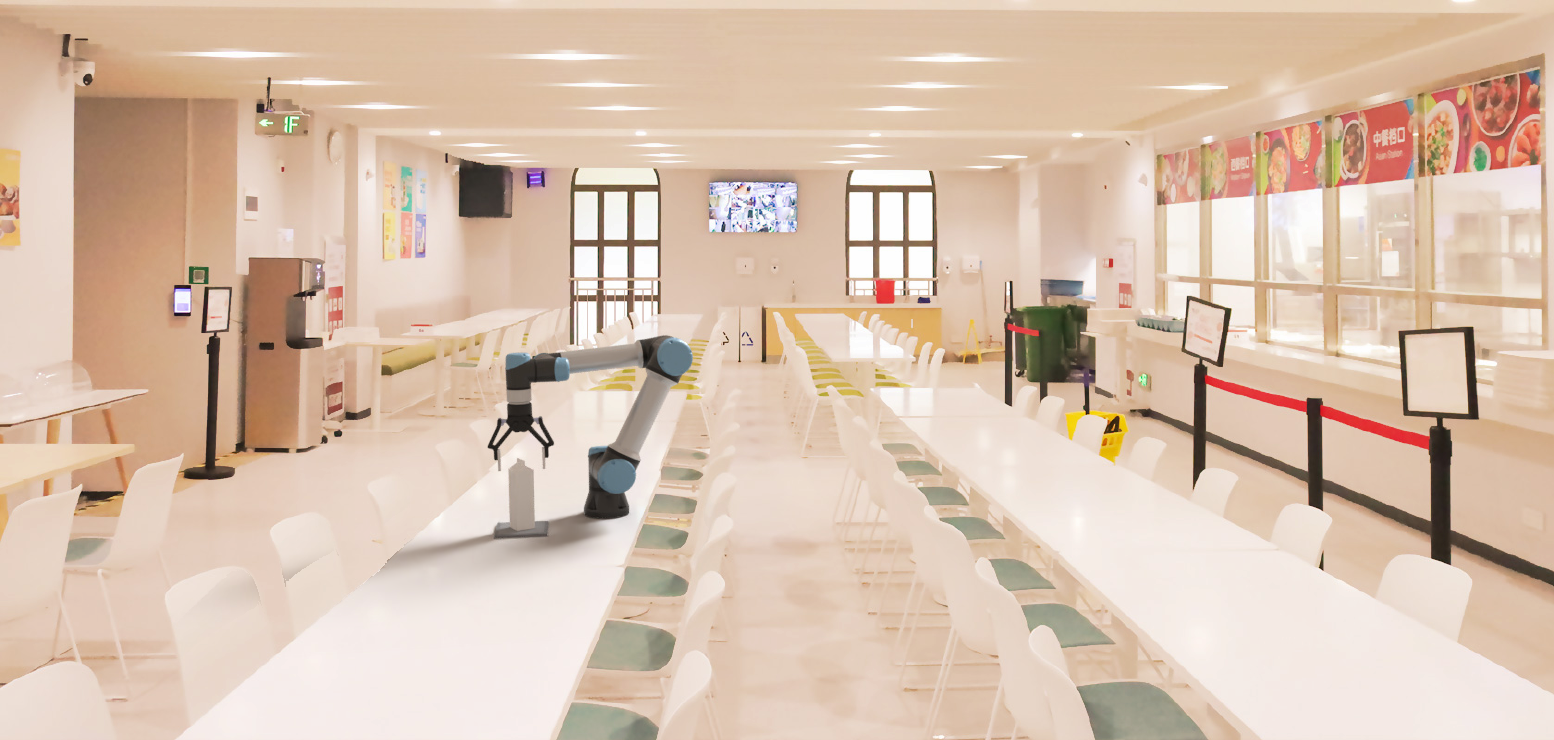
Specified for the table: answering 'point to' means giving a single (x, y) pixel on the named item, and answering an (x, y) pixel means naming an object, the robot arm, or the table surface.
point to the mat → (507, 532)
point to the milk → (521, 496)
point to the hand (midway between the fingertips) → (522, 469)
